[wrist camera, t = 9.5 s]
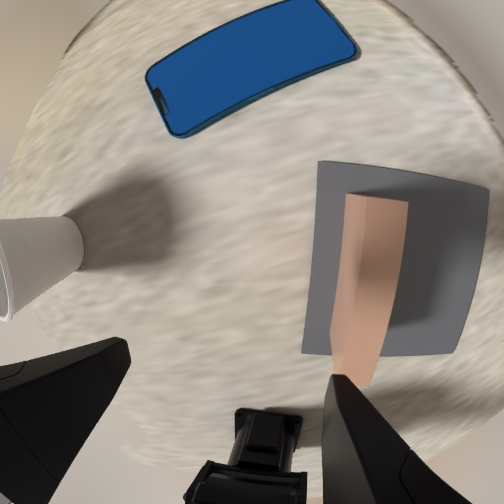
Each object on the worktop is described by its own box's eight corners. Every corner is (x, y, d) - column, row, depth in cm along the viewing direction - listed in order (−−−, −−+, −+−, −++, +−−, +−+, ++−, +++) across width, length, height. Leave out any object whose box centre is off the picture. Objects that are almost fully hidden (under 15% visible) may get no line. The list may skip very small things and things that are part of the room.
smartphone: (364, 55, 14) (173, 143, 17) (361, 61, 15) (179, 145, 18) (310, -9, 13) (141, 72, 16) (310, -2, 14) (146, 75, 17)
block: (357, 334, 18) (371, 385, 13) (329, 332, 19) (335, 385, 13) (377, 196, 16) (411, 202, 10) (345, 193, 16) (367, 197, 11)
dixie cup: (100, 286, 22) (22, 332, 13) (52, 281, 24) (-14, 313, 14) (87, 197, 20) (-5, 213, 11) (40, 207, 22) (-33, 223, 13)
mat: (451, 350, 18) (453, 353, 17) (301, 350, 20) (301, 353, 20) (486, 189, 14) (489, 189, 14) (317, 161, 17) (318, 161, 16)
